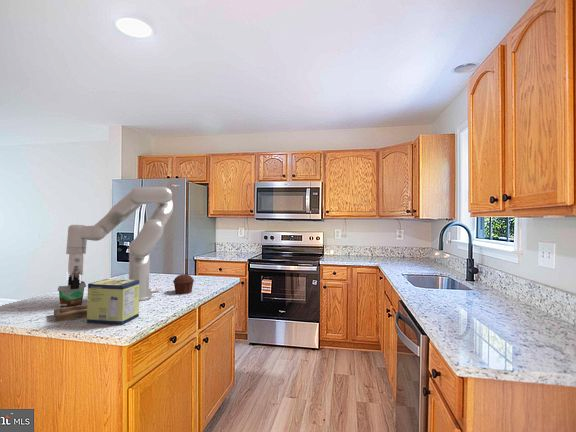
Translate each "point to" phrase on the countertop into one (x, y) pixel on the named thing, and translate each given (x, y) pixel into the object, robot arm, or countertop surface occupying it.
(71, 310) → the base plate
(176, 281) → the muffin
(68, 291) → the food container
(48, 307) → the countertop surface
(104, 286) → the protein box
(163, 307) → the countertop surface
